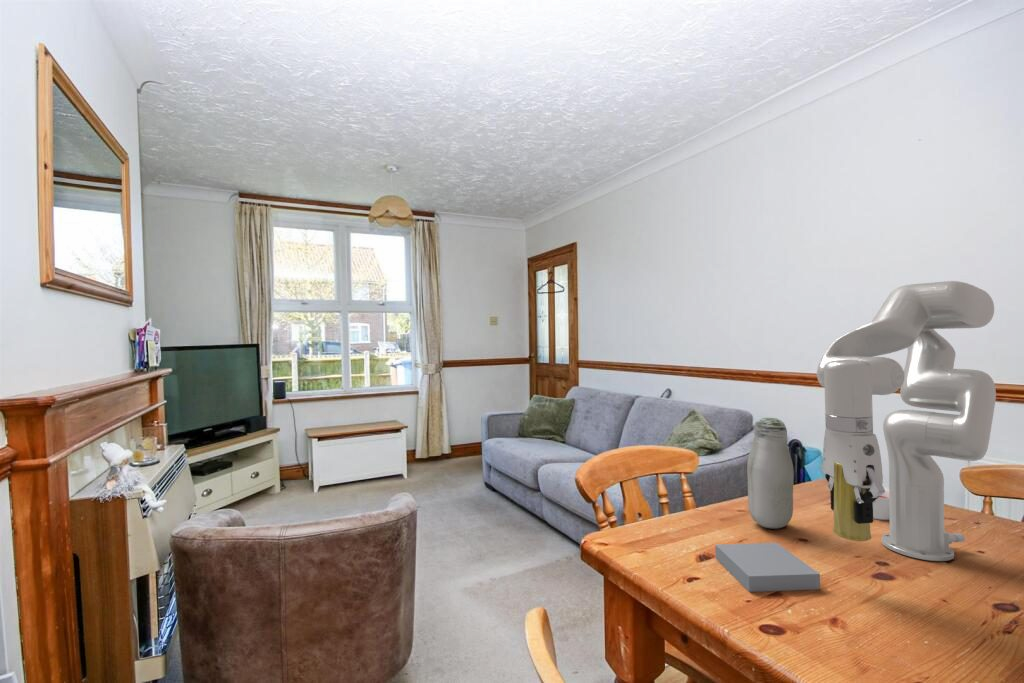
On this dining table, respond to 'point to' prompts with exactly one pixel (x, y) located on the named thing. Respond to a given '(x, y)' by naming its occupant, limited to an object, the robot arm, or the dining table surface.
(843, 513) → the vase
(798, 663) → the dining table surface
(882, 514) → the candle
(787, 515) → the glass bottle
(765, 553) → the plinth
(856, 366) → the robot arm
